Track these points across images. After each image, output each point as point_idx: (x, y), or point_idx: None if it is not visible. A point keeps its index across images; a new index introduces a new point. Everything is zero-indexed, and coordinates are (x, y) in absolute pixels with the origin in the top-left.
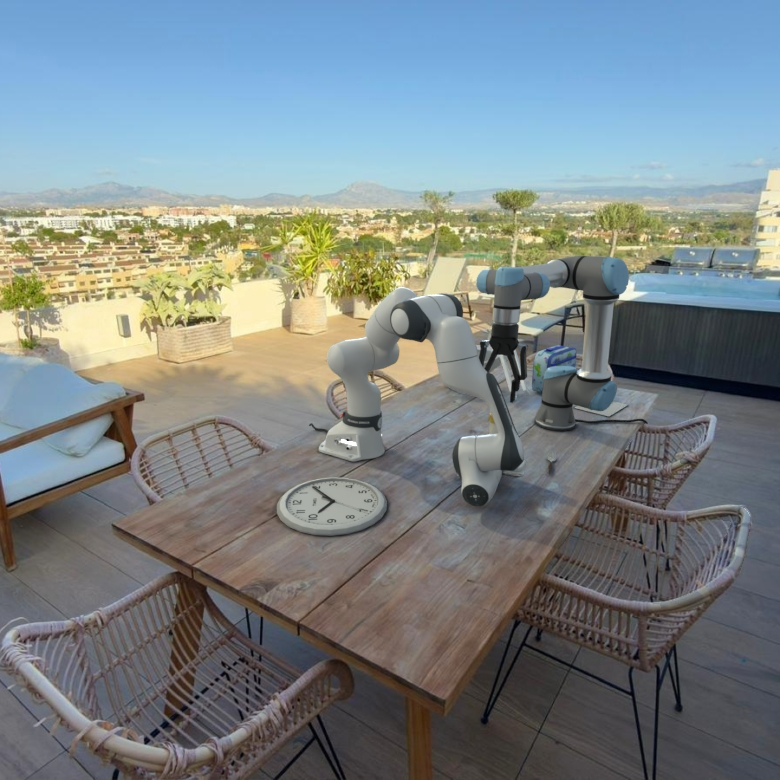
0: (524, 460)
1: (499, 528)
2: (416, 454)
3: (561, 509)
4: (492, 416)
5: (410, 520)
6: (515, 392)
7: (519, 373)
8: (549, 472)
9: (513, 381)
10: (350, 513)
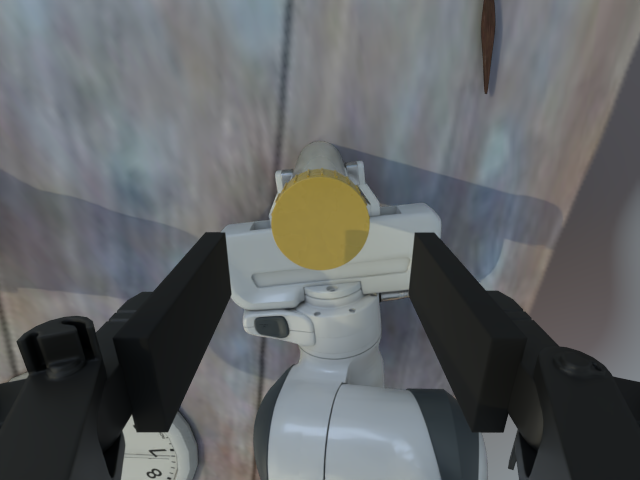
0: (437, 230)
1: (399, 386)
2: (59, 152)
3: (516, 268)
4: (302, 264)
5: (243, 428)
6: (457, 261)
7: (630, 427)
8: (487, 84)
9: (491, 430)
10: (146, 466)
